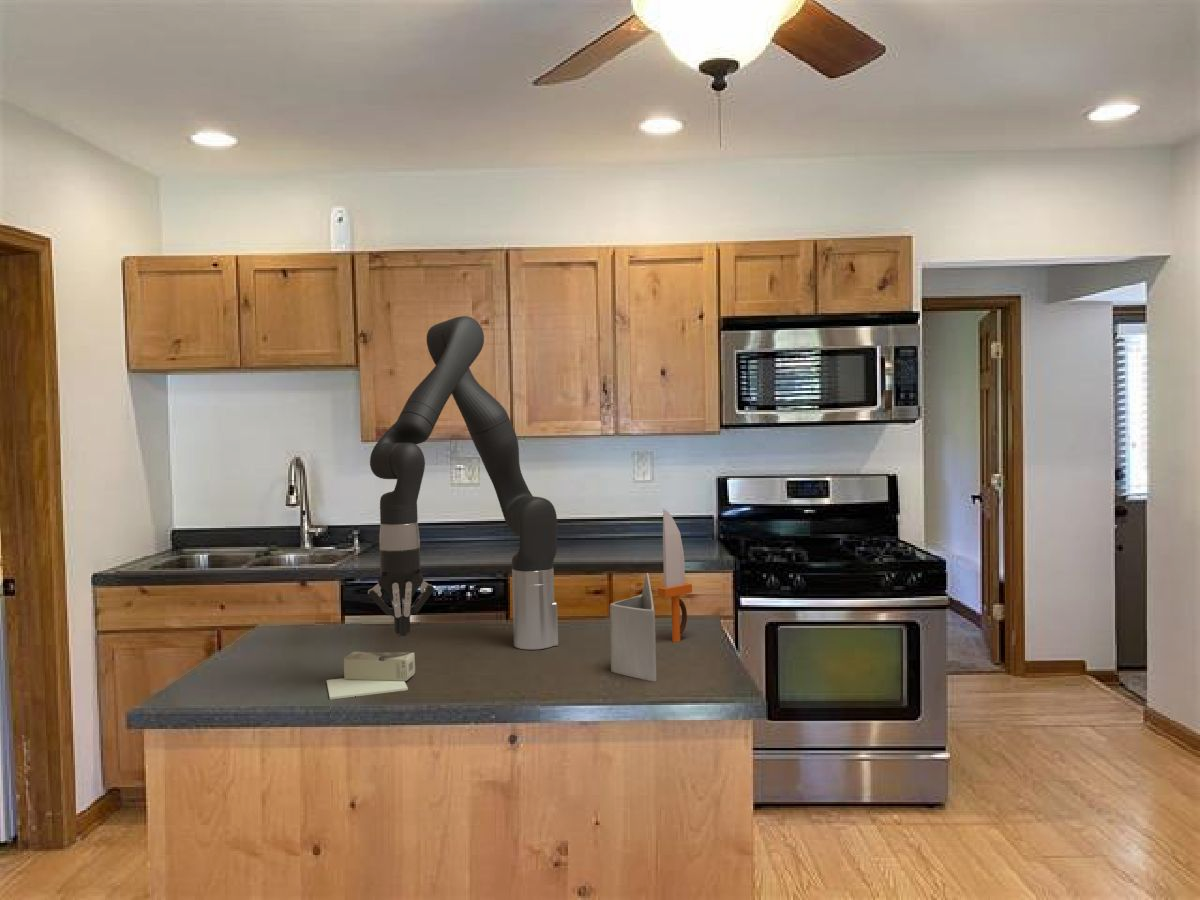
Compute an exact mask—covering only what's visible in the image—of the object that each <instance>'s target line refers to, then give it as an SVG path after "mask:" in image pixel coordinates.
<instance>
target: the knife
mask: <svg viewBox="0 0 1200 900" xmlns="http://www.w3.org/2000/svg"><path fill="white" fill-rule="evenodd" d="M662 510H663V511H662V512H663V515H662V519H663V520H662V554H663V555H662V557H663V558H662V559H663V560H662V561H663V564H662V565H663V586H661V587H657V597H659V598H664V599H667V598H670V599H671V602H670V603H671V606H670V607H671V631H672V632H671V635H672V636H671V637H672V639H671V640H672V642H673V643H679V642H681V635H682V634H684V631H685V629H686V628H687V622H688V612H687V606H686V605H685V603H684V601H683V600H682V599H681V598H680V596H682V595H687V594H692V593H693V584H692V583H687V582H686V577H685V576H686V572H685V571H686V570H685V568H686V566H685V555H684V554H685V553H684V547H683V542H682V537H681V536H682V535H681V532H680V529H679V527H678V526H677V524H676V521H675V519H674V518H673V517H672V515H671V514H670V512H668V510H666V509H665V508H662ZM680 610H681V614H680ZM680 615H681V616H680Z"/></svg>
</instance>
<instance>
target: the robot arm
mask: <svg viewBox="0 0 1200 900" xmlns="http://www.w3.org/2000/svg"><path fill="white" fill-rule="evenodd" d="M484 344H485V335H484V331H483V327H481V325H480V323H479V322H478V321H477V320H476V319H475V318H473V317H471V316H468V315H465V316H464V315H463V316H462V315H461V316H457V317H453V318H451V319H448V320H444V321H442V322H439V323H436V324H434V325H432V326H431V327H430V328H429V329H428V331H427V333H426V347H427V350H428V353H429V355H430V357H431V359H432V361H433V363H434V365H435V366H434V367H433V368H432V370H431V371H430V372H429V373H428V374H427V375H426V377H424V378H423V379H422V381H421V382H420V383H419V384H417V386H416V388H414V390H413V391H412V392H411V394H410V395H409V397H408V399H407V400H406V403H405V404H404V406H403V408H402V410H401V411H400V414H399V416H398V418H397V420H396V421H395V422H394V424H392V425H391V426H390V427H389V428H388V430H386V432H385V433H384V434H383V435H382V436H381V437H380V438H379V440H378V441H377V443H376V444H375V445H374V447H373V448H372V451H371V453H370V457H369V465H370V470H371V472H372V473H373V475H374V476H376V477H377V478H378V479H383V480H396V484H395V486H394V489H393V490H392V491H388V492H385V493H383V494H382V495H381V496H380V500H379V512H380V513H379V517H380V519H379V520H380V521H379V522H380V526H379V527H380V528H379V564H380V565H379V566H380V568H379V569H380V572H379V573H380V574H379V578H378V580H377V584H375V585H374V587H372V588H369V589H368V590H367V595H368V596H369V597H370V598H371V599H372V600H373V602H374V603H375V604H376V605H377V606H378V607H379V609H381V610H382V612H383V613H384V614H385V615H386V616H391V617H393V622H394V624H393V626H394V628H393V629H394V631H395V634H396V635H398V637H399V638H401V637H407V636H408V634H409V633H410V632H411V616H412V615H413V614H415V613H416V614H417V613H419V612H420V610H421V609H422V607H423V606H424V604H425V603H426V602H427V601H428V599H429V598H430V596H431V595H432V593H434V591H435V586H433V585H432V583H428V582H427V581H425V580H424V576H423V575H422V572H421V553H420V552H421V551H420V550H421V549H420V547H421V546H420V545H421V540H420V531H419V530H420V529H419V521H418V518H419V517H418V499H419V494H420V491H421V486H422V481H423V477H424V474H425V470H426V468H425V467H426V466H425V465H426V462H425V461H426V459H425V455H424V453H423V451H422V449H421V447H419V444H422V443H425V442H427V440H428V439H429V438H430V436H431V434H432V433H433V430H434V428H435V427H436V426H435V425H436V424H437V422H438V419H440V416H441V413H442V412H443V410H444V408H445V406H446V404H447V402H448V400H450V399H449V398H450V396H451V395H452V397H453V399H454V401H455V403H456V406H457V408H458V410H459V412H460V414H461V417H462V418H463V421H464V423H465V426H466V428H467V430H468V433H469V435H470V437H471V440H472V443H473V445H474V446H475V449H476V451H477V454H478V455H479V457H480V460H481V462H482V463H483V466H484V468H485V470H486V473H487V475H488V477H489V478H490V480H491V483H492V485H493V488H494V491H495V494H496V496H497V500H498V503H499V506H500V509H501V512H502V515H503V518H504V521H505V524H506V526H507V528H509V530H510V531H511V532H512V533H514V534H515V535H517V536H519V543H518V544H519V547H518V551H517V553H515V554H514V555H513V556H512V558H511V576H512V577H511V578H512V613H513V615H512V618H513V619H512V620H513V623H512V624H513V646H514V647H515V648H516V649H521V650H542V649H548V648H551V647H554V646H555V647H556V646H559V632H558V631H559V628H558V627H559V626H558V625H559V623H558V622H559V621H558V619H559V617H558V603H557V602H556V601H555V580H554V577H555V576H554V573H555V572H554V561H555V558H556V555H557V551H558V550H557V547H558V543H557V542H558V518H557V517H558V516H557V510H556V509H555V506H554V505H553V503H552V501H550V500H548V499H547V498H545V497H541V496H535V495H532V493H531V491H530V488H529V487H528V485H527V482H526V481H525V479H524V476H523V473H522V470H521V464H520V451H519V450H520V449H519V447H520V446H519V440H518V436H517V433H516V431H515V428H514V426H513V424H512V421H511V419H510V417H509V414H508V412H507V410H506V409H505V408H504V406H503V404H501V403H500V401H498V399H496V398H495V397H494V396H493V395H492V394H491V393H490V392H489V391H488V390H486V389H485V388H484V387H483V386H482V385H481V384H480V383H479V382H478V380H477V379H476V378H475V376H474V374H473V373H472V371H471V369H470V367H471V366H472V364H473V363H474V362H475V361H476V359H478V356H479V355H480V353H481V352H482V350H483V347H484ZM419 588H420V589H419ZM381 590H382V591H383V592H384V593H385V594H386V595H387V597H388V598H390V599H391V604H392V605H391V606H392V607H389V605H388V604H387V603H386V602H385V601H384V600H383V599H382V598H381V597H382V595H383V594H382V591H381ZM418 590H419V591H420V594H419V595H418V596H417V598H416V599H415V601H414V602H413V603H412V597H414V596H415V595H416V593H417V592H418ZM401 599H402V605H401ZM401 606H402V608H401Z"/></svg>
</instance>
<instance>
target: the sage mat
mask: <svg viewBox="0 0 1200 900" xmlns="http://www.w3.org/2000/svg"><path fill="white" fill-rule="evenodd" d="M326 685H327V686H326V687H327V691H328V696H329V700H331V701H332V700H337V699H338V700H339V699H345V698H353V697H355V696H356V697H362V696H371V695H377V694H378V695H380V694H386V693H387V694H388V693H396V692H404V691H408V690H409V688H408V685H407V684H406V681H396V680H345V678H335V679H326Z"/></svg>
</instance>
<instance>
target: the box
mask: <svg viewBox="0 0 1200 900" xmlns="http://www.w3.org/2000/svg"><path fill="white" fill-rule="evenodd" d="M415 659H416V658H415V652H401V651H398V652H397V651H396V652H395V651H392V652H390V651H389V652H388V651H385V652H384V651H383V652H382V651H352V652H351V653H349V654H348V655H346V656H345V657H343V674H344V675H343V676H344V678H345V680H396V681H405V682H407V681H408V680H409V679H410V678H412V677H413V676H414V675H415V673H416V662H415V661H416V660H415Z"/></svg>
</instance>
